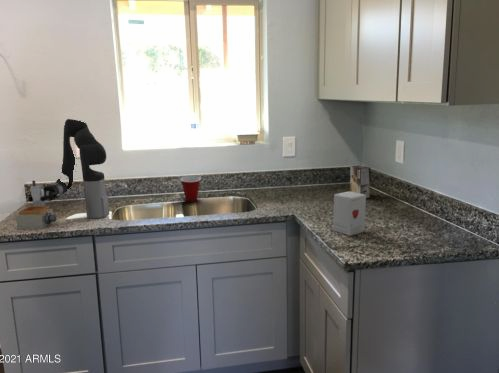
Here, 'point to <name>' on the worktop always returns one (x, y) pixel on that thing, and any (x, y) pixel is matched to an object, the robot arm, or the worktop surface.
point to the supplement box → (349, 213)
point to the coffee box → (360, 180)
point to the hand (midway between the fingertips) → (35, 199)
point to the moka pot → (37, 194)
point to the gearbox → (35, 217)
